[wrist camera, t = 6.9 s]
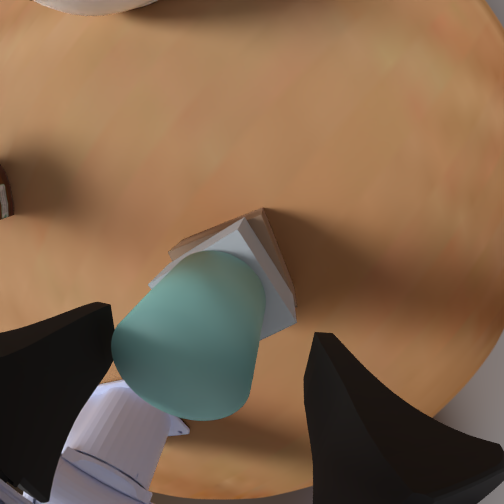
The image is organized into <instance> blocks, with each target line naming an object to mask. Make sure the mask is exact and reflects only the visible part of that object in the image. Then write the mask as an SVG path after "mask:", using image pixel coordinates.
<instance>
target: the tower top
mask: <svg viewBox="0 0 504 504" xmlns="http://www.w3.org/2000/svg"><path fill="white" fill-rule="evenodd" d="M208 250H211V251H220V252H225V253H228V254H231V255H233V256H235V257H237V258H239V259H240V260H242V261H244V262H245V263H246V264H247V265H249V266H250V267H251V268H252V269H253V270H254V272H255V273H256V274H257V276H258V277H259V279H260V281H261V283H262V285H263V288H264V291H265V297H266V307H265V313H264V319H263V324H262V330H261V335H260V340H262V339H264V338H266V337H268V336H271V335H273V334H275V333H277V332H279V331H281V330H283V329H285V328H287V327H289V326H291V325H293V324H295V323H297V320H296V313H295V305H294V298H293V294H292V292H291V291H290V289H289V288H288V286H287V284H286V283H285V281H284V279H283V278H282V276H281V275H280V273H279V271H278V270H277V268H276V266H275V265H274V263H273V262H272V260H271V258H270V257H269V255H268V254H267V252H266V250H265V249H264V247H263V246H262V244H261V242H260V241H259V239H258V237H257V236H256V234H255V233H254V231H253V229H252V228H251V226H250V225H249V223H248V221H247V220H246V218H245V217H243V218H242V219H240V220H239V221H237V222H235V223H234V224H232V225H230V226H229V227H227V228H225V229H224V230H222V231H220V232H219V233H217V234H216V235H214V236H212V237H211V238H209V239H208V240H206V241H204V242H203V243H201V244H199V245H198V246H196V247H195V248H193V249H191V250H190V251H188V252H187V253H185V254H184V255H182V256H180V257H179V258H177V259H176V260H174V261H173V262H171V263H169V264H168V265H167V266H166V267H165V268H164V269H163V270H162V271H161V272H160V273H159V274H158V275H157V276H156V277H155V278H154V279H153V280H152V281H151V282H150V283H149V284H148V285H149V287H150V288H151V289H153V288H154V287H155V286H156V285H157V284H158V283H159V282H160V281H161V280H162V279H163V278H164V277H165V276H166V275H167V274H168V273H169V272H170V271H171V270H172V269H173V268H174V267H175V266H176V265H177V264H178V263H179V262H180V261H181V260H182V259H183V258H185V257H187V256H188V255H190V254H193V253H196V252H200V251H208Z"/></svg>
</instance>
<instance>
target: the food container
mask: <svg viewBox="0 0 504 504" xmlns="http://www.w3.org/2000/svg"><path fill="white" fill-rule="evenodd" d="M12 215H14V210H13V199H12V193H11V187H10V184H9V181H8V178H7V175H6V172H5V171H4V169H3V168H2V166H1V165H0V220H1V219H4V218H6V217H9V216H12Z"/></svg>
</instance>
